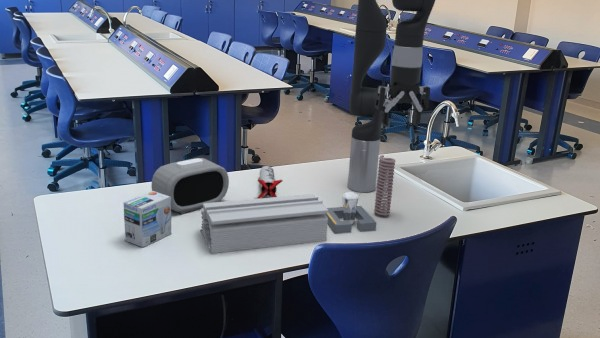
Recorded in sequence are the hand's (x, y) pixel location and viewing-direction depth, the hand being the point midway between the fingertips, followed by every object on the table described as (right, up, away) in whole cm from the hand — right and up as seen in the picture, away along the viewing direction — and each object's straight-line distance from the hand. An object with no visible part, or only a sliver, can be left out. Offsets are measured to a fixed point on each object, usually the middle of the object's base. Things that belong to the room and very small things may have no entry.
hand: (400, 125), depth 159 cm
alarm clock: (-58, -22, +20) cm, 66 cm away
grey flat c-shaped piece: (-13, -27, +13) cm, 32 cm away
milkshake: (-12, -27, +13) cm, 32 cm away
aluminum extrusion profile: (-36, -30, +3) cm, 47 cm away
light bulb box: (-66, -30, -2) cm, 72 cm away
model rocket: (-37, -18, +35) cm, 54 cm away
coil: (-2, -25, +20) cm, 32 cm away
